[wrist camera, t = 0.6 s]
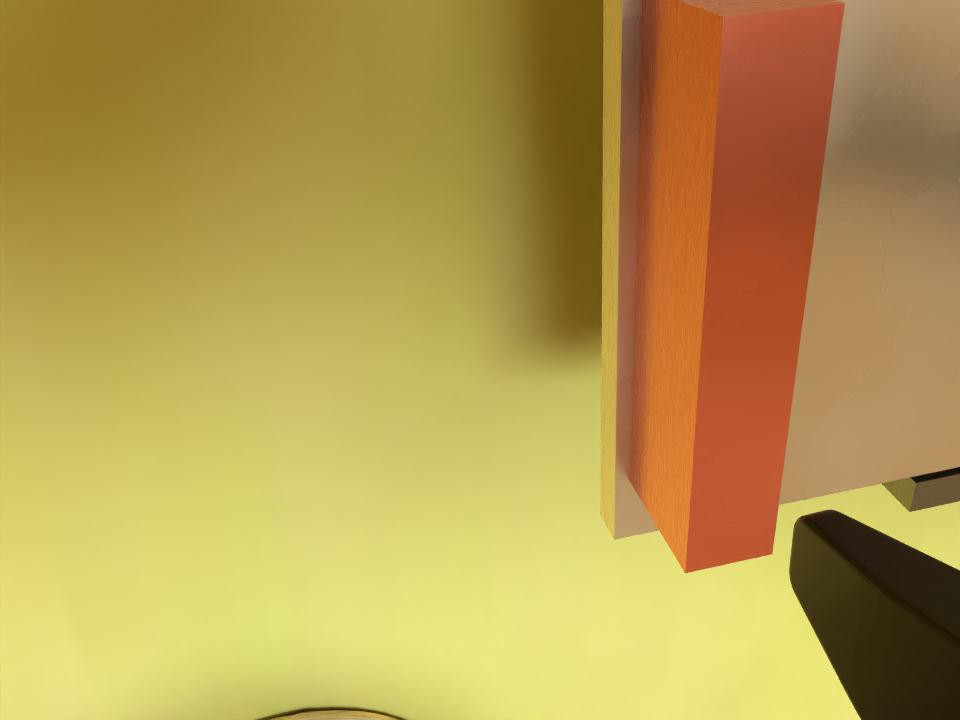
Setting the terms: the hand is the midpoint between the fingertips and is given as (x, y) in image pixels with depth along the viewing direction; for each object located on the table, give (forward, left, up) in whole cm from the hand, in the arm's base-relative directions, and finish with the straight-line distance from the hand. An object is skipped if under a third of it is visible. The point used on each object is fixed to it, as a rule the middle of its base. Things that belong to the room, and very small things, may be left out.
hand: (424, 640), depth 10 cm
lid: (-11, -1, -7) cm, 14 cm away
